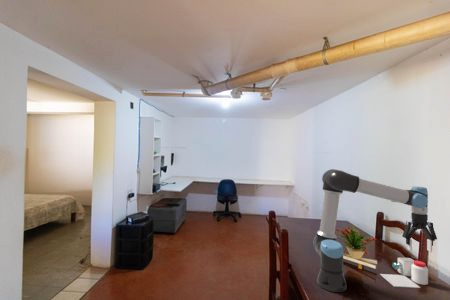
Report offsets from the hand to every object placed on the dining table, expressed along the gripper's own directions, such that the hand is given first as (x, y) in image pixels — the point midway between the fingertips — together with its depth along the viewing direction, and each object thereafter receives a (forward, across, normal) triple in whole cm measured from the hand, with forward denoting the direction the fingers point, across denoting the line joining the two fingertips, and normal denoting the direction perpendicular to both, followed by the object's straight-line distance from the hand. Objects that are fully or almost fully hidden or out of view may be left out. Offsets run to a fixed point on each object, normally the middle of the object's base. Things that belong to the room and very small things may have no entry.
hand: (419, 250), depth 143 cm
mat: (+18, -12, -1) cm, 22 cm away
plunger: (+15, -4, +9) cm, 18 cm away
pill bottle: (+18, 0, 0) cm, 18 cm away
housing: (+18, -1, +9) cm, 20 cm away
